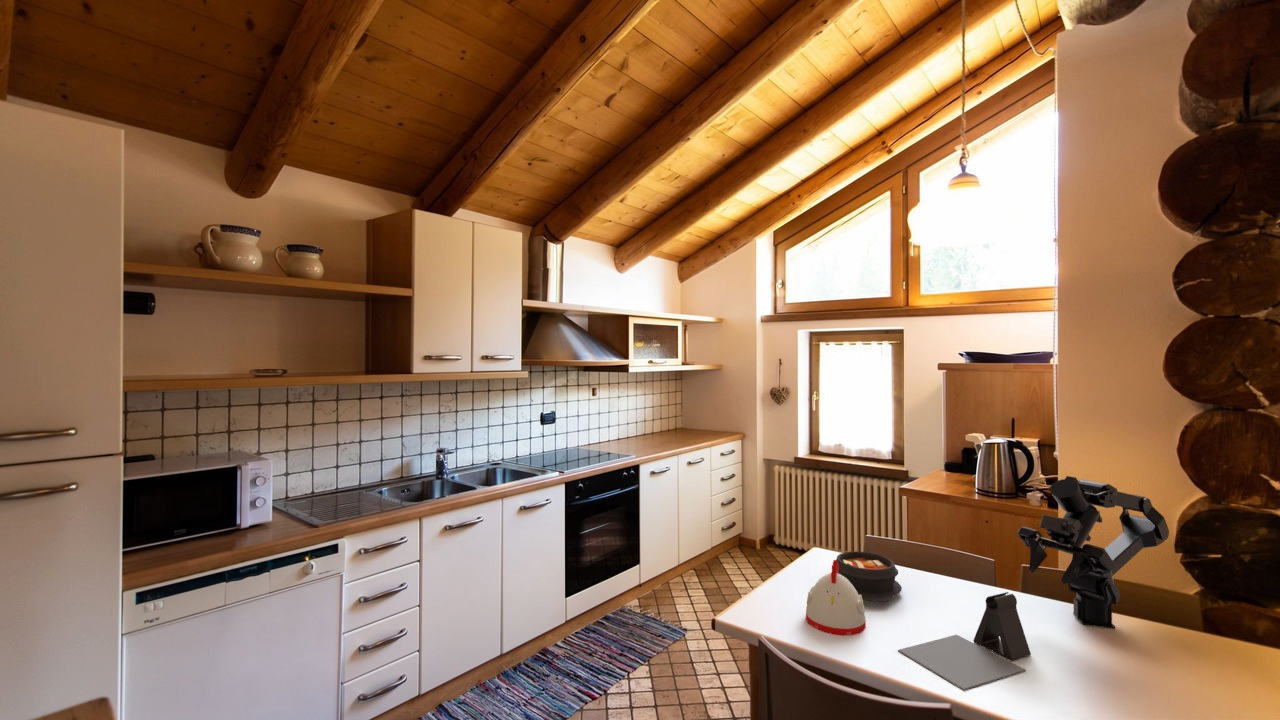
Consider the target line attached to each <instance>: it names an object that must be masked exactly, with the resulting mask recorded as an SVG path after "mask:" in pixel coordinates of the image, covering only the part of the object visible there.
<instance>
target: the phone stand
mask: <svg viewBox="0 0 1280 720" xmlns="http://www.w3.org/2000/svg"><path fill="white" fill-rule="evenodd" d="M1017 604H1018V601H1017V597H1016V596H1015V594H1013V593H1009V592H1008V591H1006V592H1001V593H999V594H994V595H989V596H987V597H986V598H985V611H984V613H983V615H982V618H981V620H980V623H979V625H978V628H977V631H976V632H975V636H974V638H973V643H974V644H976V645H978V646H980V645H981V646H980V647H982V646H983V647H982V648H984V647H985V648H984V649H986V650H988V651H990V652H992V653H994V654H996V655H998V656H1000V657H1002V658H1004V659H1006V660H1008V661H1010V662H1013V661H1015V660H1019V659H1022V658H1025V657H1028V656H1029V657H1030V656H1031V651H1030V647H1029V644H1028V640H1027V638H1026V634H1025V631H1024V628H1023V625H1022V621H1021V619H1020V616H1019V613H1018V608H1017Z"/></svg>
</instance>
